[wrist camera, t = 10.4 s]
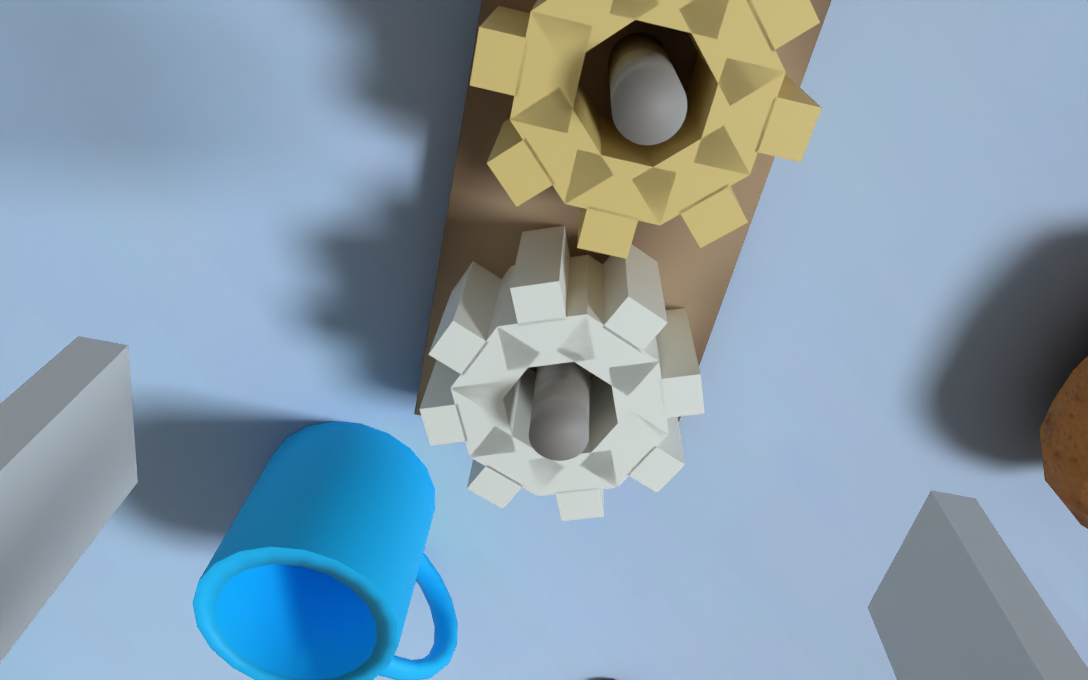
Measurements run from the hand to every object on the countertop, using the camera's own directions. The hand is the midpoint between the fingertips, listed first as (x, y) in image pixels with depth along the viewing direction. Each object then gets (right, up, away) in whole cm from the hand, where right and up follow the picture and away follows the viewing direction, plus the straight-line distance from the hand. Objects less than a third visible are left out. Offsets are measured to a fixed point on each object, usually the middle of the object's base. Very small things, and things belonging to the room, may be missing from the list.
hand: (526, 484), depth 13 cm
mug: (-8, -6, +26) cm, 28 cm away
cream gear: (+1, +2, +19) cm, 19 cm away
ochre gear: (+3, +12, +14) cm, 18 cm away
